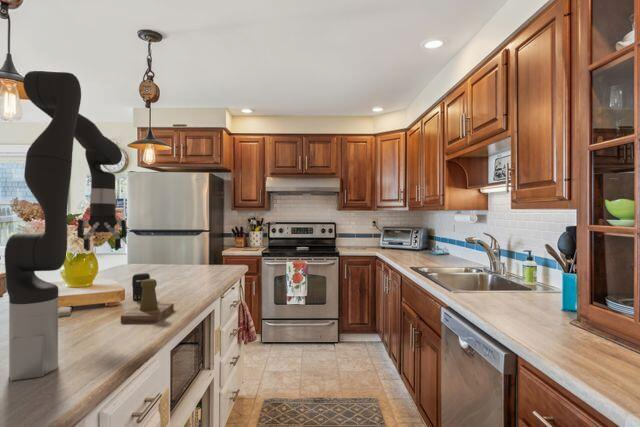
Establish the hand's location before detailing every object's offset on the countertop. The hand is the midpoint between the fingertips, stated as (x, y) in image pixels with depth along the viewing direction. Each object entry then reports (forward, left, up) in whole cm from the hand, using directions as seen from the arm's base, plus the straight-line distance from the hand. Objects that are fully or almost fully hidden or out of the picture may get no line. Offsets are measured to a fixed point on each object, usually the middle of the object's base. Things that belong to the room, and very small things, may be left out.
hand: (102, 250), depth 121 cm
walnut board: (+5, -14, -25) cm, 29 cm away
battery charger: (+33, -9, -25) cm, 43 cm away
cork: (+5, -14, -23) cm, 27 cm away
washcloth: (+23, +20, -26) cm, 40 cm away
